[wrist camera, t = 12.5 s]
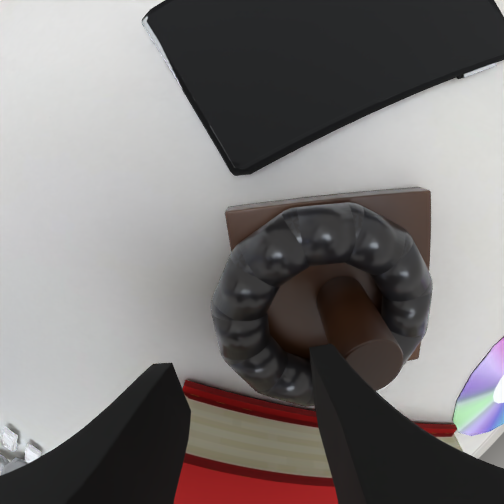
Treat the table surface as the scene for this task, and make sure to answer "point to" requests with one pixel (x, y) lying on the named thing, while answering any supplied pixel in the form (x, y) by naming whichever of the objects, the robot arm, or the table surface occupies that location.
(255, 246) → the ring
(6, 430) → the toy vehicle set
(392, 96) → the smartphone
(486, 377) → the cd
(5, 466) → the figurine
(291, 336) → the brown peg stand
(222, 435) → the book
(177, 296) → the table surface
